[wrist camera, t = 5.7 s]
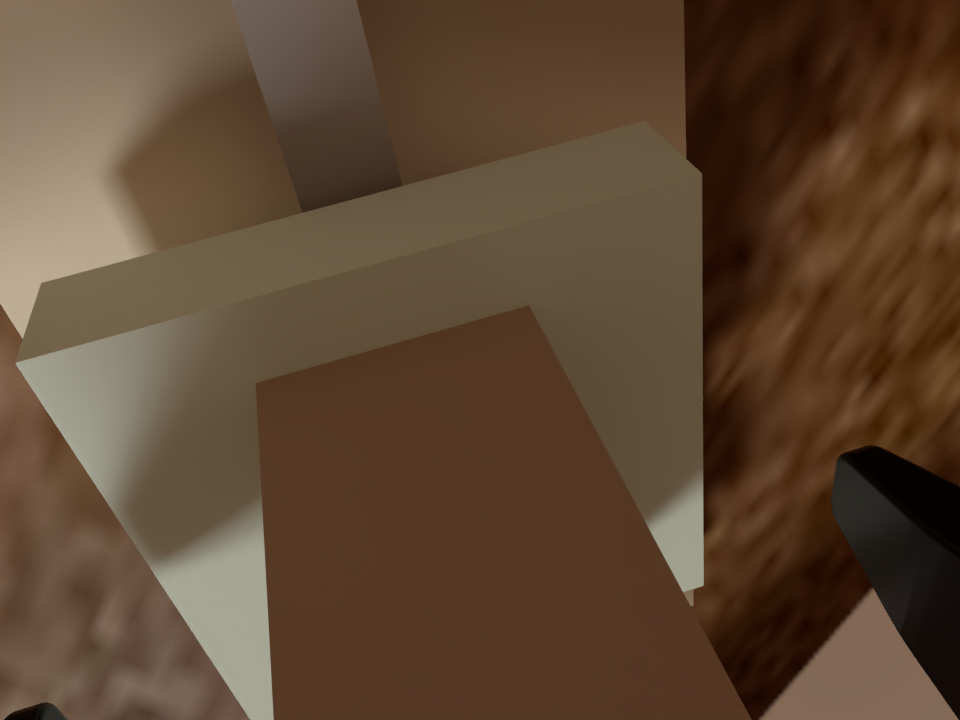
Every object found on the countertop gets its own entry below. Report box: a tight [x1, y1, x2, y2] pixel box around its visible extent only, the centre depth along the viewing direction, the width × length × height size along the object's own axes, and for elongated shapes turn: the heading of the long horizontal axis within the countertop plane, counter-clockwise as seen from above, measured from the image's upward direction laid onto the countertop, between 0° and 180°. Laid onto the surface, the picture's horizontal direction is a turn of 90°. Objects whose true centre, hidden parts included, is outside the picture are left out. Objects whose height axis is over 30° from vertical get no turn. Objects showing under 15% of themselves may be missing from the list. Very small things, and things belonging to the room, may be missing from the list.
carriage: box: [15, 121, 751, 720], centre depth 9 cm, size 7×7×6 cm
